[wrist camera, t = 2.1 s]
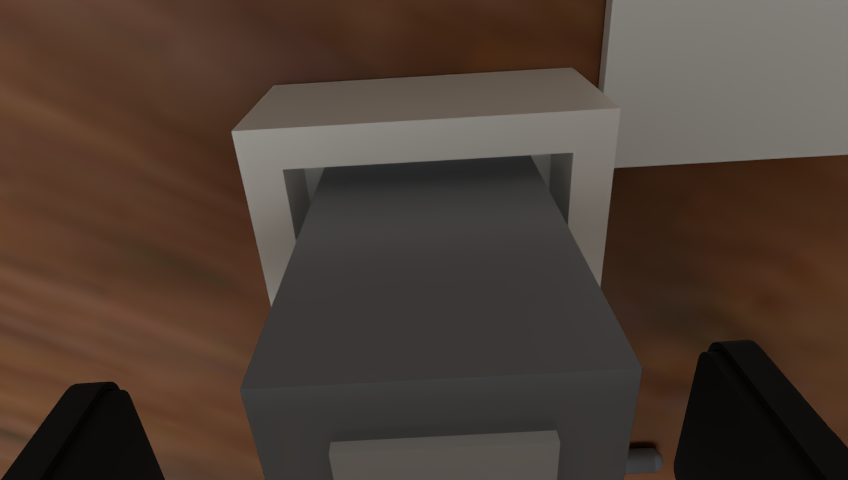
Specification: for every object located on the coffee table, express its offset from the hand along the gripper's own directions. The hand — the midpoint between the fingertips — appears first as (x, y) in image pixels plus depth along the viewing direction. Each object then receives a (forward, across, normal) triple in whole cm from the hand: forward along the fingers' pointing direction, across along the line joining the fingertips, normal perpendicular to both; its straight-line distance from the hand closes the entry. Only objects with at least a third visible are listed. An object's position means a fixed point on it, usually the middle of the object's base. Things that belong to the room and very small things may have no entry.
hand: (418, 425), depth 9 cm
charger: (+6, 0, 0) cm, 7 cm away
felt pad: (+8, -9, -5) cm, 13 cm away
